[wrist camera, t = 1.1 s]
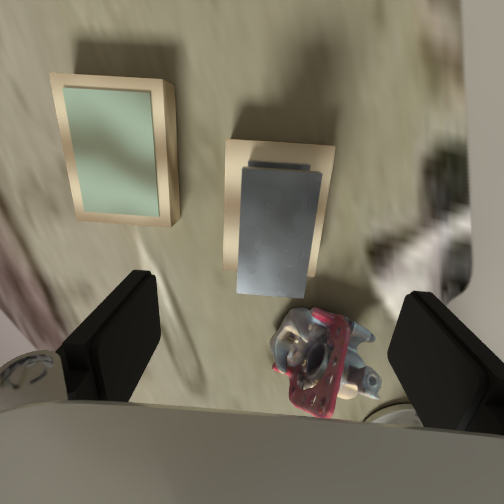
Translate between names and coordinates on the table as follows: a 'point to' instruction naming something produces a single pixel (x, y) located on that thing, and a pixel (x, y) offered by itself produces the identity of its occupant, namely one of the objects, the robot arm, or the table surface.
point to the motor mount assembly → (322, 359)
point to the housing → (276, 227)
